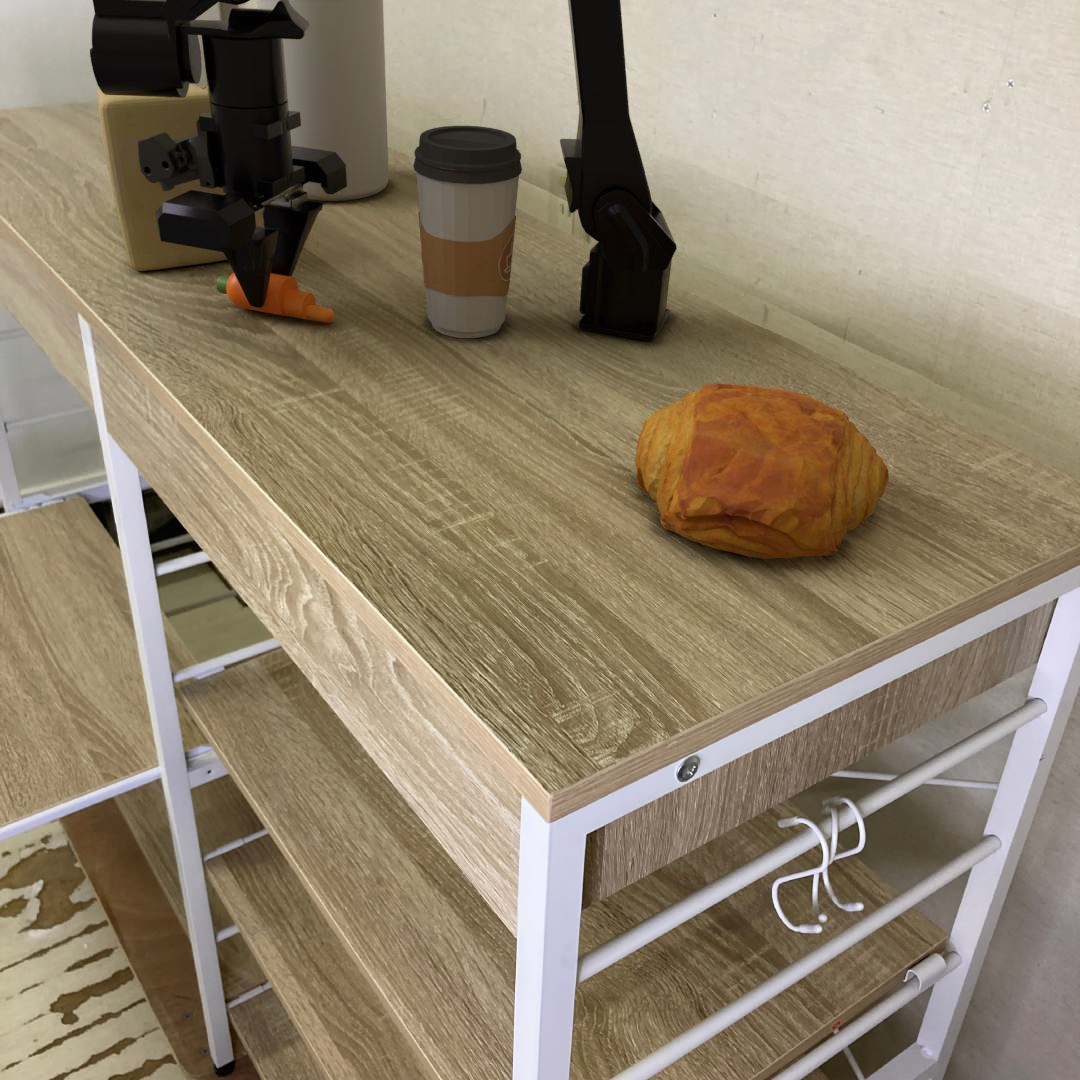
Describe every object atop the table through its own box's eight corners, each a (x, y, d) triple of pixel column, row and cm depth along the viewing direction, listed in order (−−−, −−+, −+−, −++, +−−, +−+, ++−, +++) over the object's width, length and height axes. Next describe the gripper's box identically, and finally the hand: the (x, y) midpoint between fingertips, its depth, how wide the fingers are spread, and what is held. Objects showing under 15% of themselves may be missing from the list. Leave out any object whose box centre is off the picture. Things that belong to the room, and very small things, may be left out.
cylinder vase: (269, 202, 115) (244, -68, 101) (278, 169, 125) (256, -81, 111) (389, 203, 116) (381, -63, 102) (388, 170, 127) (380, -76, 113)
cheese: (81, 203, 112) (51, 44, 103) (177, 193, 116) (156, 40, 108) (129, 276, 96) (98, 96, 88) (238, 261, 100) (219, 88, 92)
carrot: (343, 317, 90) (341, 279, 89) (324, 330, 88) (322, 291, 86) (233, 296, 93) (229, 259, 91) (212, 308, 90) (207, 270, 89)
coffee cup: (503, 350, 87) (509, 157, 78) (403, 337, 88) (398, 145, 80) (526, 311, 94) (533, 129, 85) (432, 299, 95) (430, 119, 86)
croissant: (667, 458, 78) (665, 351, 74) (894, 482, 72) (905, 367, 68) (597, 557, 67) (591, 437, 63) (860, 595, 61) (871, 466, 57)
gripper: (224, 65, 91) (244, 249, 99) (74, 112, 76) (113, 323, 85) (344, 81, 88) (354, 268, 97) (214, 133, 73) (239, 348, 82)
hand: (268, 299), depth 90 cm, fingers closed on carrot, 3 cm apart
